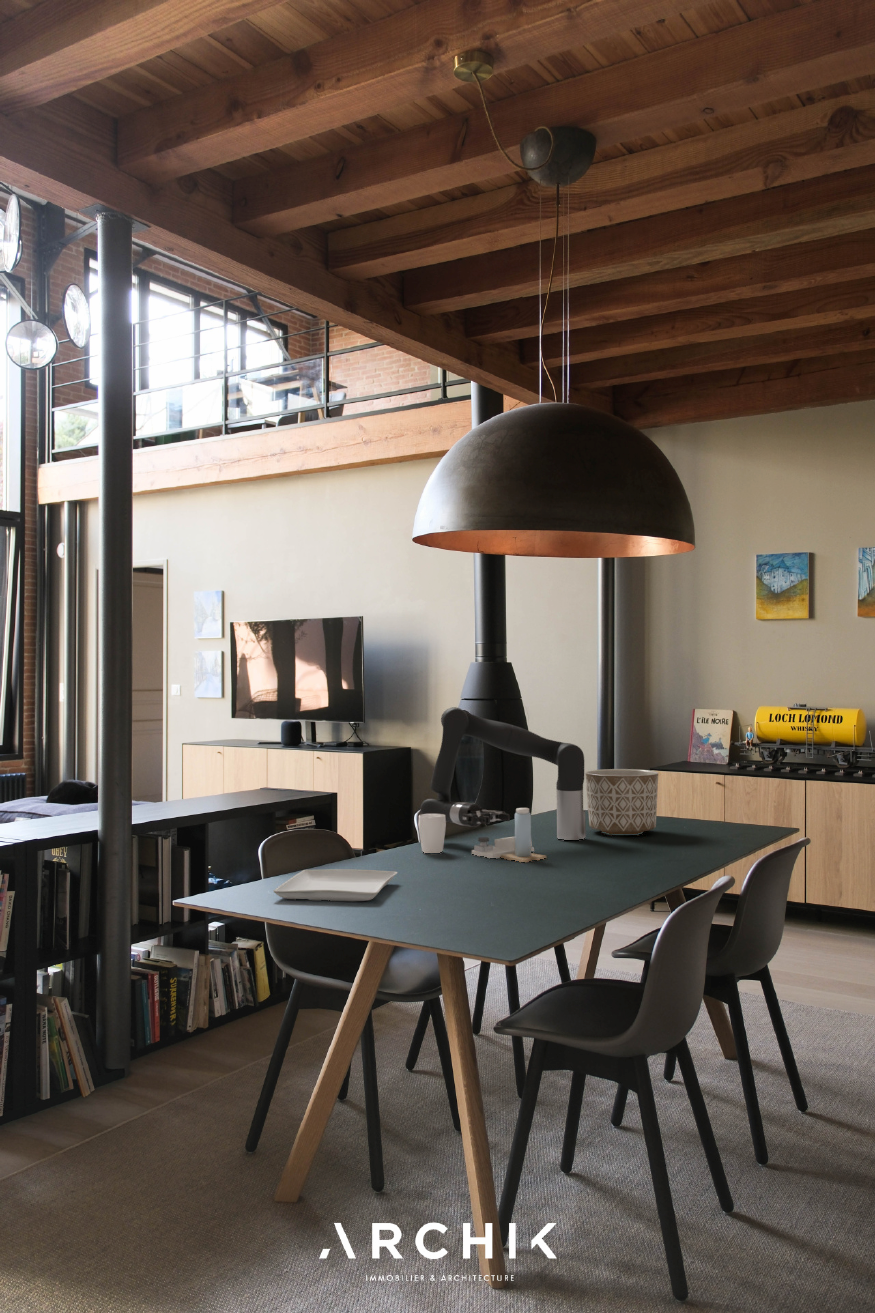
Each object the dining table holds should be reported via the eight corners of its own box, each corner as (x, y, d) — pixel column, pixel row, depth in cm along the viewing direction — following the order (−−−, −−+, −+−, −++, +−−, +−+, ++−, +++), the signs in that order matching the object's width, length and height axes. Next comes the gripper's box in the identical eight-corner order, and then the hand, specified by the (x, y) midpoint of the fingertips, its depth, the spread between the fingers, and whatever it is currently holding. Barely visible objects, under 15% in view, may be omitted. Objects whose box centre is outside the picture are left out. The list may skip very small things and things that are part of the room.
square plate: (303, 881, 278) (303, 868, 278) (398, 884, 274) (398, 870, 274) (272, 903, 251) (272, 888, 251) (377, 906, 247) (377, 890, 247)
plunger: (484, 849, 317) (484, 836, 317) (491, 850, 315) (491, 838, 315) (476, 850, 315) (476, 838, 315) (483, 851, 313) (483, 839, 313)
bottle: (523, 853, 312) (522, 807, 312) (534, 855, 308) (534, 808, 308) (511, 855, 308) (511, 808, 309) (522, 857, 305) (522, 810, 305)
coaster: (523, 854, 315) (523, 851, 315) (546, 858, 307) (546, 855, 307) (500, 858, 309) (500, 855, 309) (523, 862, 301) (523, 859, 301)
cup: (444, 855, 316) (443, 817, 316) (416, 854, 317) (415, 817, 317) (448, 850, 325) (447, 813, 325) (421, 849, 326) (420, 813, 326)
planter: (595, 839, 343) (594, 776, 344) (579, 828, 369) (578, 769, 369) (669, 837, 345) (667, 775, 346) (647, 826, 371) (646, 768, 372)
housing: (512, 848, 327) (512, 836, 327) (534, 852, 319) (533, 839, 319) (471, 854, 316) (471, 842, 316) (492, 859, 308) (492, 846, 308)
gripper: (449, 804, 325) (482, 809, 312) (482, 801, 334) (515, 805, 321) (450, 827, 325) (482, 833, 312) (482, 823, 334) (515, 828, 321)
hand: (499, 819), depth 317 cm, fingers open, 8 cm apart
